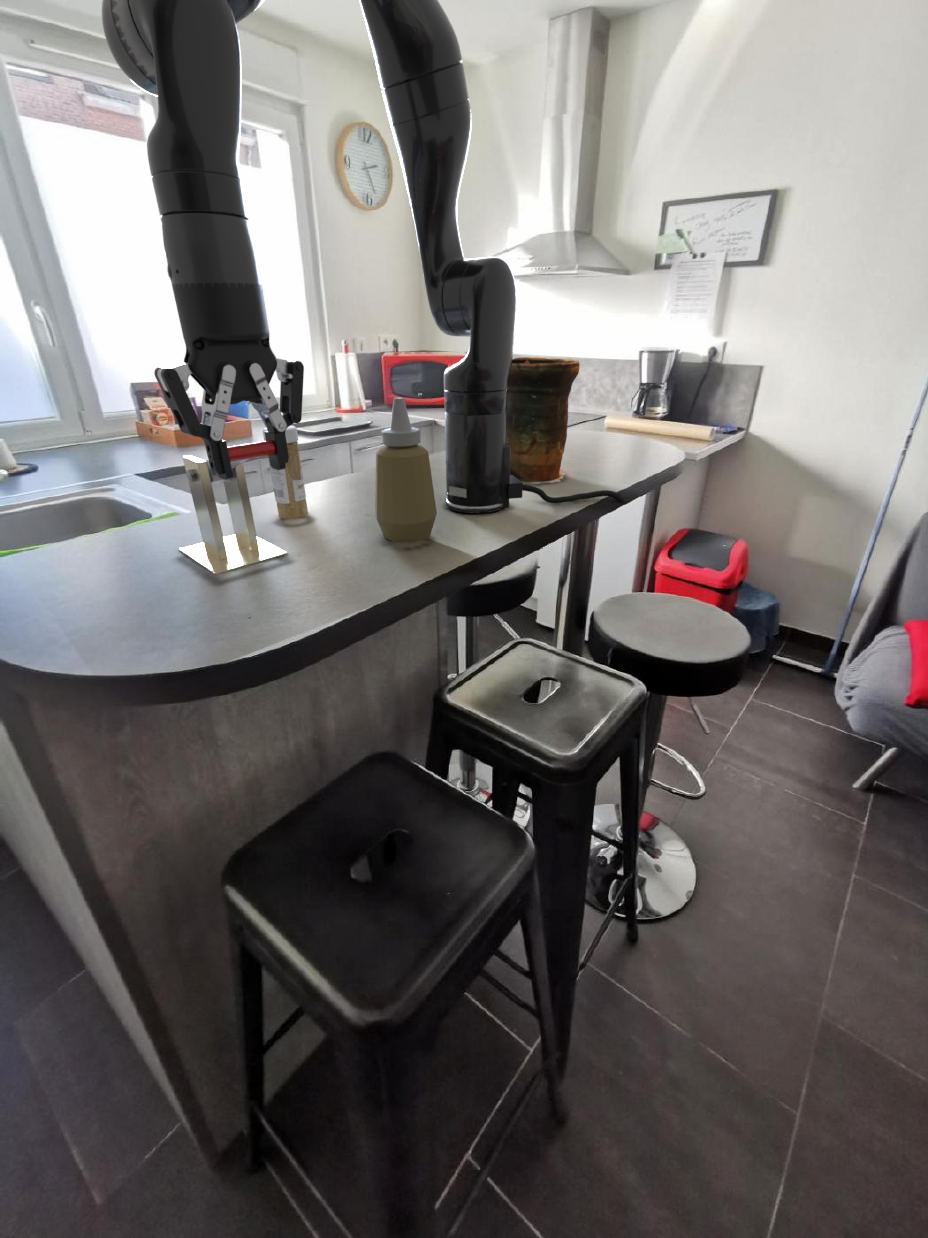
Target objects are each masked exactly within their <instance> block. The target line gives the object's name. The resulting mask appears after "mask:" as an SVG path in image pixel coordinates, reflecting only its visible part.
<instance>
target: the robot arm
mask: <svg viewBox="0 0 928 1238" xmlns="http://www.w3.org/2000/svg"><path fill="white" fill-rule="evenodd" d="M265 1H266V0H102V1H101V22H102V29H103V33H104V38H105V40H106V43H107V46H108V49H109V51H110V53H111V55H112V57H113V59H114V61H115V62H116V64H117V66H118V67H119V69H120V70H121V71H122V72H123V74H124V75H125V76H126V77H127V78H128V79H129V80H130V81H131V82H132V83H133V84H134V85H136V86H137V87H138V88H140V90H142V91H144V92H146V93H148V94H150V95H153V96H155V97H157V117H156V121H155V122H154V124H153V126H152V127H151V130H150V132H149V134H148V137H147V140H146V152H147V159H148V160H147V162H148V167H149V172H150V176H151V182H152V185H153V191H154V194H155V195H154V196H155V199H156V204H157V210H158V213H159V216H160V224H161V229H162V230H161V231H162V242H163V250H164V255H165V258H166V259H165V260H166V270H167V271H166V272H167V275H168V278H169V280H170V283H171V287H172V292H173V296H174V302H175V306H176V310H177V316H178V320H179V324H180V328H181V333H182V338H183V341H184V344H185V354H184V358H183V362H181V363H178V364H175V365H171V366H168V367H163V366H158V367H156V368H155V370H154V371H153V373H154V377H155V379H156V382H157V384H158V386H159V388H160V390H161V392H162V394H163V396H164V398H165V401H166V403H167V405H168V407H169V409H170V411H171V413H172V414H173V418H174V420H175V421H176V423H177V426H178V429H179V430H180V431H181V432H182V433H183V434H186V435H190V436H193V437H197V438H200V439H202V441H203V442H204V446H205V451H206V455H207V460H208V461H209V465H210V468H211V470H212V471H213V473H216V474H218V476H219V478H222V479H224V480H227V479H232V478H233V473H232V468H231V463H230V458H229V453H228V448H227V447H228V444H227V440H224V439H223V438H224V432H225V426H226V421H227V420H226V419H227V418H228V417H229V414H230V408H231V405H236V404H239V403H241V402H249V403H250V404H251V406H252V407H253V409H254V410H256V412H257V413H258V415H259V417H260V419H261V421H262V423H263V424H264V426H265V427H267V430H268V431H265V432H264V433H265V439H266V441H269V440H270V441H272V442H273V443H274V446H275V454H274V455H269V458H268V463H269V462H270V466H271V467H272V468H273V469H276V470H282V469H285V468H286V464H285V463H288V460H289V455H288V448H287V442H286V435H285V431H286V429H287V428H288V427H289V426H290V425H291V426H293V425H295V424H299V423H300V422H301V421H302V416H303V415H302V414H303V395H304V394H303V393H304V377H305V376H304V375H305V367H304V363H303V362H302V361H300V360H294V359H283V358H277V356H276V354H275V353H274V351H273V349H272V347H271V344H270V328H269V321H268V316H267V308H266V303H265V296H264V295H265V294H264V289H263V284H262V277H261V276H262V275H261V271H260V265H259V257H258V251H257V248H256V244H255V241H254V236H253V233H252V229H251V224H250V221H249V215H248V214H249V213H248V208H247V200H246V195H245V188H244V182H243V176H242V169H241V167H240V166H241V165H240V142H241V131H242V130H241V129H242V89H243V88H242V86H243V85H242V81H243V79H242V78H243V73H242V71H243V70H242V54H241V43H240V37H239V36H240V35H239V31H238V27H237V24H238V23H240V22H241V21H243V20H244V19H246V18H247V17H249V16H250V15H252V14H253V13H254V12H255V11H256V10H258V9H259V8H260V7H261V6H262V5H263V4H264V3H265ZM358 1H359V4H360V8H361V12H362V15H363V19H364V23H365V27H366V30H367V34H368V38H369V42H370V46H371V51H372V54H373V58H374V63H375V67H376V71H377V75H378V81H379V85H380V88H381V93H382V98H383V102H384V106H385V110H386V114H387V119H388V122H389V125H390V129H391V132H392V133H391V134H392V136H393V140H394V144H395V146H396V151H397V154H398V157H399V158H398V159H399V162H400V166H401V171H402V174H403V175H402V176H403V178H404V183H405V187H406V191H407V195H408V200H409V206H410V209H411V214H412V220H413V223H414V228H415V235H416V240H417V245H418V251H419V258H420V264H421V269H422V275H423V283H424V287H425V293H426V298H427V302H428V307H429V310H430V313H431V316H432V318H433V321H434V324H435V325H436V326H437V327H438V329H439V330H440V331H441V332H442V333H443V334H445V335H447V336H450V337H451V336H452V337H467V338H469V346H468V351H467V352H466V354H465V355H464V357H463V358H461V360H459V361H457V362H454V363H453V364H451V365H449V366H447V367H446V368H445V369H444V371H443V402H444V403H443V404H444V443H445V446H444V447H445V474H446V475H445V482H446V491H445V492H446V497H445V503H446V507H447V508H448V509H449V510H451V511H454V512H459V513H463V514H487V513H493V512H497V511H499V510H502V509H509V508H510V500H512V499H513V500H514V499H522V498H523V493H524V492H523V491H525V492H530V493H534V494H536V495H538V496H539V497H540V498H541V499H542V500H543V501H544V502H546V503H548V504H563V503H571V502H575V501H581V500H588V499H595V498H601V497H610V498H613V499H615V500H616V501H617V502H618V503H620V504H621V503H622V504H624V503H625V504H626V503H627V499H626V498H625V497H624V496H623V495H622V494H620V493H618V492H617V491H613V490H609V489H604V490H603V489H602V490H596V491H595V490H594V491H590V492H583V493H574V494H571V495H564V496H556V497H553V496H549V495H548V494H547V493H546V492H545V490H543V489H542V488H539V487H538V486H534V485H532V484H523V483H522V482H521V481H520V480H518V479H517V478H516V477H514V476H513V475H510V451H511V448H510V445H509V444H507V443H506V434H507V390H508V389H507V388H508V376H509V373H510V369H511V365H512V359H514V358H513V356H514V343H515V342H514V341H515V330H516V329H515V327H516V318H517V317H516V316H517V287H516V280H515V277H514V273H513V271H512V268H511V267H510V265H509V263H508V262H507V261H506V260H505V259H503V258H500V257H496V256H486V257H484V256H483V257H475V258H473V257H472V258H465V256H464V252H463V248H462V243H461V237H460V230H459V223H458V203H459V201H458V200H459V194H460V190H461V189H460V188H461V184H462V180H463V177H464V176H463V175H464V170H465V166H466V163H467V157H468V153H469V148H470V143H471V142H470V141H471V134H472V110H471V104H470V103H471V101H470V97H469V92H468V86H467V80H466V74H465V69H464V68H465V67H464V63H463V58H462V52H461V47H460V44H459V39H458V37H457V34H456V31H455V29H454V27H453V24H452V23H451V21H450V19H449V17H448V15H447V13H446V12H445V10H444V9H443V7H442V5H441V4H440V2H439V0H358ZM275 372H276V377H277V379H278V381H279V382H280V389H279V402H278V400H277V398H276V395H275V394H274V392H273V390H272V388H271V385H270V383H271V381H272V379H273V376H274V374H275ZM190 377H191V378H192V379H193V380H194V381H195V382H196V383H197V384H198V385H199V386H200V388H202V389H203V391H202V392H203V393H202V398H201V399H202V400H201V412H202V415H201V422H200V420H199V417H198V415H197V413H196V410H195V408H194V406H193V404H192V402H191V400H190V399H191V398H190V397H189V395H188V393H187V391H188V390H189V388H190V382H189V378H190ZM619 645H621V643H619Z"/></svg>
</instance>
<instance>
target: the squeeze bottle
mask: <svg viewBox="0 0 928 1238" xmlns="http://www.w3.org/2000/svg"><path fill="white" fill-rule="evenodd" d="M391 409H392V410H391V417H390V424H389V427H388V428H384V429H382V430H381V439H382V440H381V441H382V445H384V446H381V447H380V448H379V449H378V450H377V451H376V452H375V490H374V491H375V493H374V496H375V499H374V516H375V519H376V521H377V524H378V526H379V528H380V530H381V533H382V535H383V537H384V538H385V539H387V540H389V541H393V542H406V543H407V542H408V543H409V542H416V541H420V540H424V539H427V540H430V538H431V535H432V532H433V528H434V524H435V521H436V518H437V511H438V510H437V505H436V498H435V491H434V484H433V475H432V468H431V462H430V455H429V450H428V449H426V448H425V447H424V445H420V443H421V429H420V428H419V427H413V426H412V425H411V421H410V417H409V414H408V409H407V405H406V402H405V398H404V397H393V402H392V408H391Z"/></svg>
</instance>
